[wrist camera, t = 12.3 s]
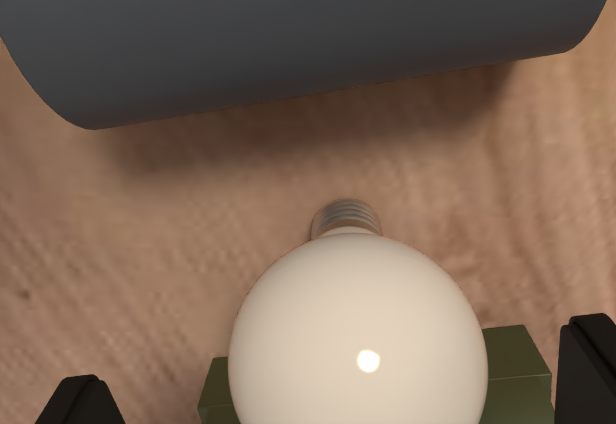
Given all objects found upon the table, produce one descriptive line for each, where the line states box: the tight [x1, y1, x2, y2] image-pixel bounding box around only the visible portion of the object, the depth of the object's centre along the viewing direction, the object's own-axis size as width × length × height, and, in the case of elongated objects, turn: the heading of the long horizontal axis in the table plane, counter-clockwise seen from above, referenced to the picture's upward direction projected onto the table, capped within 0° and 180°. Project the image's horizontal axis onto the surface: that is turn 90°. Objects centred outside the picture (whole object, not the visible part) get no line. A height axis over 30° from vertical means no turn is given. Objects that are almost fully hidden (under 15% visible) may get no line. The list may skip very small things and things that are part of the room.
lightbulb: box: [228, 199, 488, 424], centre depth 15 cm, size 6×6×11 cm
